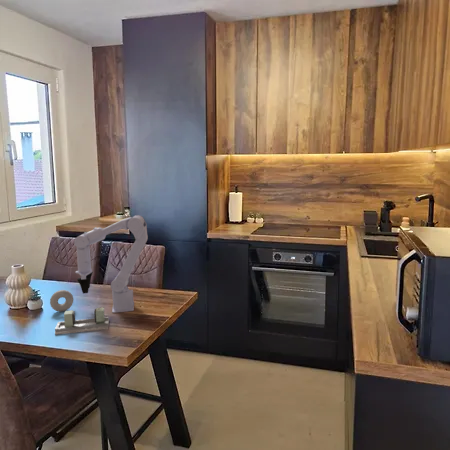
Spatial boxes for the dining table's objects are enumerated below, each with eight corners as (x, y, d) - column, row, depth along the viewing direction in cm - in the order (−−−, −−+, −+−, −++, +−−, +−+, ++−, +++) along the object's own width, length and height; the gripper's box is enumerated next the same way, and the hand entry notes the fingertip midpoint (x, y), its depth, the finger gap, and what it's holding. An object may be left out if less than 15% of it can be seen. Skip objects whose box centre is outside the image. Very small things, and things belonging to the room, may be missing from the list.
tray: (109, 320, 170) (107, 304, 169) (108, 329, 161) (106, 312, 160) (58, 325, 165) (57, 309, 164) (55, 334, 157) (53, 317, 156)
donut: (51, 314, 178) (49, 293, 176) (50, 312, 181) (48, 291, 179) (74, 310, 183) (73, 289, 181) (73, 308, 186) (71, 287, 184)
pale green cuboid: (65, 328, 160) (63, 314, 159) (66, 325, 164) (65, 311, 163) (74, 327, 161) (73, 313, 160) (75, 324, 164) (74, 310, 164)
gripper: (76, 258, 185) (78, 286, 187) (72, 265, 171) (74, 296, 173) (92, 257, 187) (94, 285, 189) (89, 264, 173) (92, 294, 175)
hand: (86, 290), depth 181 cm, fingers open, 7 cm apart
